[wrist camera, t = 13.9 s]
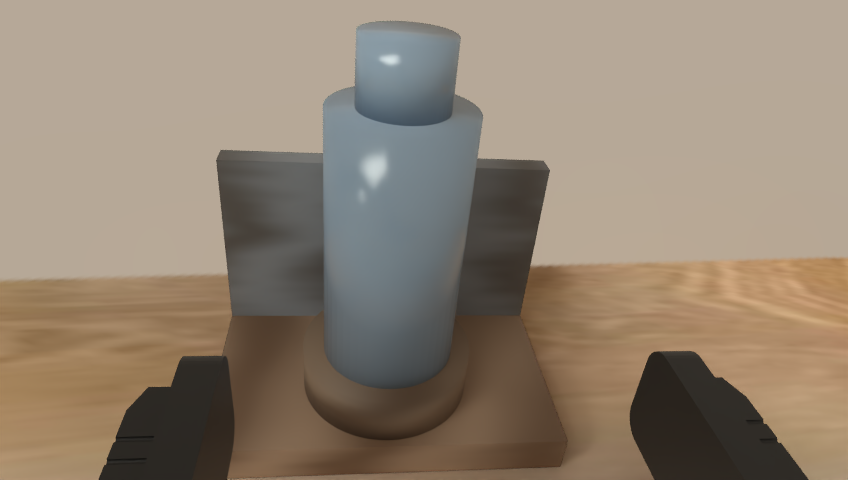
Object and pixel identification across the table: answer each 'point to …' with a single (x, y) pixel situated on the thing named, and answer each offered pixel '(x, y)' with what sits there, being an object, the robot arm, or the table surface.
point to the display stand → (362, 405)
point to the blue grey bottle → (396, 205)
